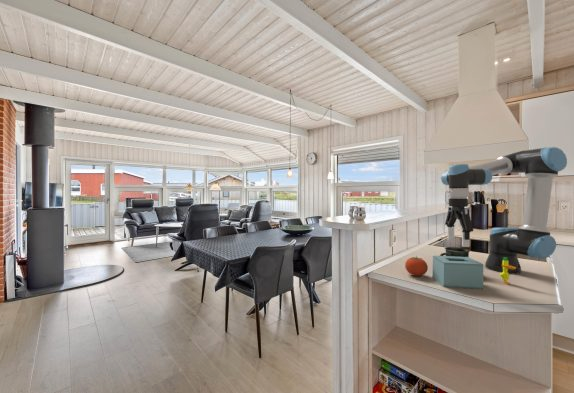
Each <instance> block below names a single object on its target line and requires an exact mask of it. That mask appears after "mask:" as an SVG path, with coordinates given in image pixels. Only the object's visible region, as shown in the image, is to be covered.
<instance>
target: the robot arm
mask: <svg viewBox="0 0 574 393" xmlns="http://www.w3.org/2000/svg"><path fill="white" fill-rule="evenodd" d="M567 164H568V159H567V155H566V153H565V152H564V151H563V150H562V149H561V148H559V147H557V146H550V147H541V148H535V149H527V150H521V151H515V152H512V153H510V154H506V155H503V156H500V157H497V158H496V159H495V160H491V161H487V162H483V163H479V164H475V165H471V166H470V165H468V163H460V164H459V163H458V164H451V165H450V166H449V168H448V170H447V171H444V172H443V173H442V174H441V177H440V180H441V183H442V184H443V185H444V186H448V191H447V192H448V197H449V198H448V206H449V207H448V208H447V209H448V210H447V214H446V219H445V222H444V224H445V226H447V227H446V228H447V241H451V242H452V241H455V226H456V225H455V223H456V222H457V220H458V221H459V223H460V227H461V228H462V230H461V248H470V246H471V245H470V244H471V243H470V242H471V238H470V237H471V233H472V232H474V228H473V223H472V220H471V215H470V209H468V208H467V207H468V206H469V186H483V185H484V186H485V185H489V183H490V182H492V180H493V176H496V175H507V174H520V173H521V174H522V173H523V174H524V176H526V178H527V179H528V181H527V186H526V187H527V188H526V196H525V204H524V210H523V219H522V225H521V226H518V228H517V227H492V228H490V231H489V252H488V256H487V258H486V260H485V262H484V267H485V268H486V269H488V270H492V271H494V272H500V273H502V272H503V266H501V265H503V260H504V259H503V258H507V260H508V265H511V266H514V267H516V269H514V270H513V269H509V268H508V271H507V272H508V274H521V273H522V266H521V263H520V261H519V258H518V255H522V256H527V257H530V258H535V259H540V260H542V259H547V258H549V257H550V256H552V254H554V252H555V251H556V247H557V241H556V239H555V238H554V237H553V236H552V235H551V231H550V230H549V229H548V228H547V227H548V226H547V225H548V219H549V212H550V211H549V210H550V204H551V197H552V196H551V195H552V188H553V182H554V181H553V180H554V179H556V177H558V176H559V172H561V171H563V170H564V169H565V168H566V167H567V166H568V165H567ZM466 208H467V209H466Z"/></svg>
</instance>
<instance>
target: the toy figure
mask: <svg viewBox="0 0 574 393" xmlns="http://www.w3.org/2000/svg"><path fill="white" fill-rule="evenodd" d="M503 259H504V260H503V265H501V266H503V272H499V271H498V272H499V275H500V278H501V279H502V280H503V282H502V283H503V284H504V285H510V284H511V283H510V282H509V281H508V280H509V279H510V273H508V272H507V271H508V268H509V269H513V270H514V269H516V267H514V266H511V265H508V260H507V258H503Z"/></svg>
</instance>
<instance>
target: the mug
mask: <svg viewBox="0 0 574 393" xmlns="http://www.w3.org/2000/svg"><path fill="white" fill-rule="evenodd" d="M444 250H445V252H443V253H442V252H441V253H440V254H439V256H454V257H469V258H470V256H469V254H470V250H469V249H468V248H465V247H459V246H458V247H457V246H456V247H454V246H447V247H444Z"/></svg>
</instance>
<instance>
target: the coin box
mask: <svg viewBox="0 0 574 393" xmlns="http://www.w3.org/2000/svg"><path fill="white" fill-rule="evenodd" d="M431 277H432V279H433V280H435V281H436V282H437V283H438V284H440V286H442V287H443V288H459V289H460V288H462V289H477V290H478V289H479V290H483V289H484V288H483V287H484V264H483V263H482V262H479V261H477V260H475V259H474V258H472V257H470V256H469V257H454V256H446V255H444V256H440V255H433V256H432V276H431Z"/></svg>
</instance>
